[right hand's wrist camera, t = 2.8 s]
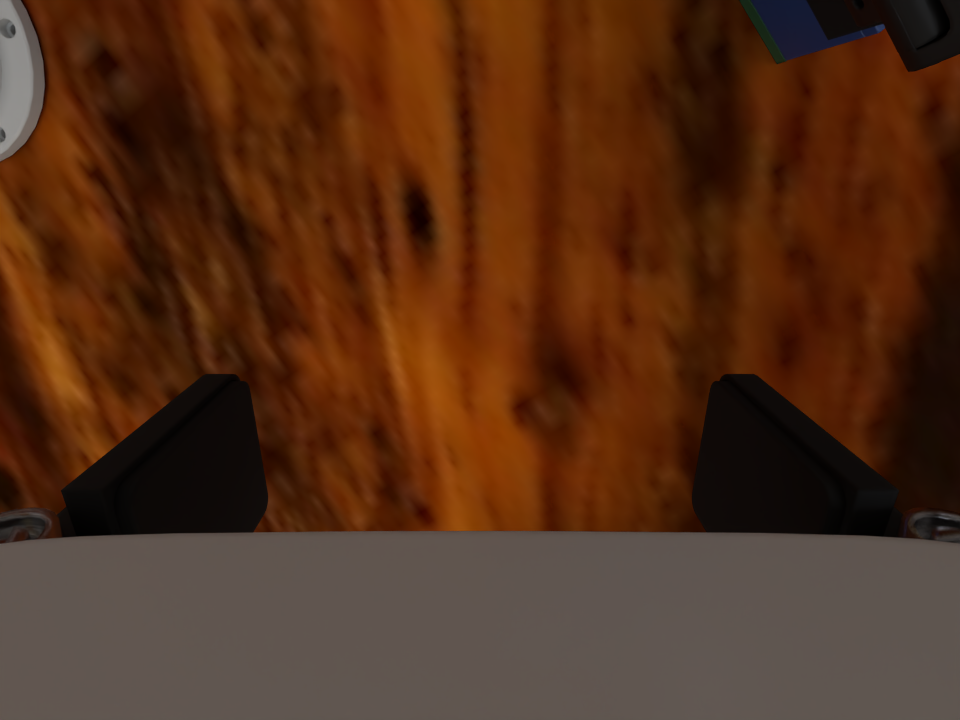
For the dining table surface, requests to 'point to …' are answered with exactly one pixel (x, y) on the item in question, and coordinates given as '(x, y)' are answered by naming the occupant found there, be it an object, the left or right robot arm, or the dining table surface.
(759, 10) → the cabinet
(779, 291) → the dining table surface
